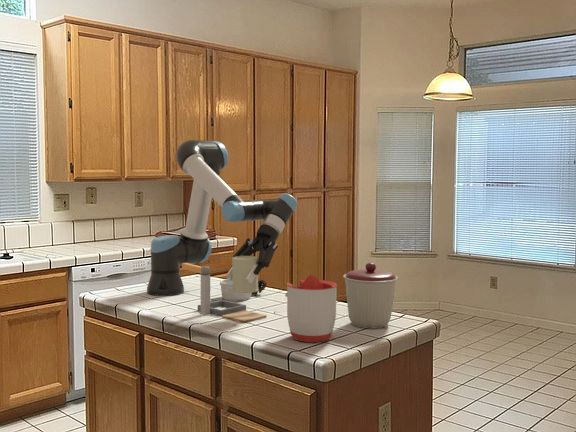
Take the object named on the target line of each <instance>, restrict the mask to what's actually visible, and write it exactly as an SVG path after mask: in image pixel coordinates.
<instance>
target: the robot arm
mask: <svg viewBox="0 0 576 432" xmlns="http://www.w3.org/2000/svg"><path fill="white" fill-rule="evenodd" d="M175 161H176V162H177V163H176V164H177V166H178V167H179V169H180V170H181V171H182V172H183V173H184V174H185V175H187V176H191V178H192V179H193V183H192V188H191V195H190V199H189V205H188V212H187V217H186V223H185V228H183V229H182V230H180V236H179V235H177V234H170V235H169V234H168V235H161V236H157V237H154V238H153V239H152V241H151V242H150V277H149V280H148V284H147V287H146V293H147V295H150V296H151V295H152V296H156V297H158V296H160V297H161V296H163V297H164V296H165V297H166V296H176V295H180V294H183V293H184V291H185V287H184V286H185V285H184V283H183V280H182V277H181V274H180V271H181V270H180V269H181V267H180V266H182V263H189V264H193V265H197V264H200V263H204V262H205V261H207V260H208V259H209V257H210V255H211V254H212V244H211V243H212V242H211V240H210V239H209V235H208V233H207V232H206V229H207V224H208V219H209V213H210V210H211V209H210V208H211V202H212V199H213V201H214V202H215V203H217V204H218V206H219V207H221V214H222V217H223V219H224V220H225V221H226V222H229V223H240V222H249V221H250V222H251V221H262V224H261V225H260V226H259V228H258V229H257V231H256V236H255V237H254V238H253V239H250V238H249V237H248V238H247V239H245V242H244V244H242V245H241V247H239V249H238V250H237V251H236V252H235V253H234V255H232V257H236V256H253V254H256V253H257V252H258V253H259V254H258V263H257V264H258V265H257V264H255V265H254V266H253V268H252V269H251V271H250V273H249V274H248V276H247V277H246V280H247V281H248V282H249V283H250V284H251V283H252V282H253V280H254V279H255V277H256V275H258V276H259V274H260V272H261V271H262V269H264V268H269V267H270V264H271V261H272V259H273V256H274V255H275V252H276V250H277V249H278V247H279V246H278V244H277V242H276V241H277V240H278V238H279V236H280V235H281V233H282V232H283V230H284V228H285V227H286V226H287V223H288V222H289V221H290V219H291V217H292V216H293V214H294V213H295V211H296V209H297V207H298V200H297V199H296V198H295V197H294V196H293V195H292V194H289V193H282V194H281V195H279V197H278V198H277V199H253V200H244V199H242V198H241V197H240V196H239V195H238V194H237V193H236V192H235V191H234V190H233V189H232V188H231V187H230V186H229V185H228V184H227V183H226V182H225V181H224V180H223V179H222V178H221V177H220V173H221V171H222V170H223V169H225V167H226V166H227V165H228V162H229V153H228V150H227V148H226V146H225V144H224V143H222V142H221V141H215V140H205V139H203V140H202V139H200V140H199V139H187V140H186V141H183V142H182V143H180V144H179V146H178V147H177V149H176V152H175ZM225 276H226V277H227V279H230V280H232V265H231V266H230V268H229V270H228V272H227V274H226V275H225Z"/></svg>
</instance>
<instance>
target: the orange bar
mask: <svg viewBox="0 0 576 432" xmlns="http://www.w3.org/2000/svg"><path fill="white" fill-rule="evenodd" d="M210 267H211V266H208V265H206V266H201V265H197V264H189V263H182V265H181V269H182V270H186V271H190V272H193V273H197V274H200V275H208V274H209V275H211V274H210V273H211V270H210V269H211V268H210Z"/></svg>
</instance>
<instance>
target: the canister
mask: <svg viewBox="0 0 576 432" xmlns="http://www.w3.org/2000/svg"><path fill="white" fill-rule="evenodd" d="M376 268H377V265H376V263H373V262H367V263H366V264H365V269H355V270H354V269H353V270H350V271H347V273H345V274H343V276H342V277H343V278H344V281H345V282H344V283H345V293H346V301H347V303H346V304H347V313H348V318H349V320H350V323H351V324H352V325H354V326H356V327H358V328H364V329H380V328H384V327H386V326H388V325H389V323H390V321H391V319H392V318H391V317H392V311H393V305H394V298H395V291H396V283H397V281H398V279H399V277H398V276H397V275H395V274H394V273H393V272H390V271H387V270H381V269H376Z"/></svg>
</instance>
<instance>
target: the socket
mask: <svg viewBox="0 0 576 432" xmlns="http://www.w3.org/2000/svg"><path fill="white" fill-rule="evenodd" d="M219 307H226V308H222V309H220V308H219ZM243 310H245V311H247V304H244V303H238V302H236V301H230V300H225V299H222V300H221V299H220V300H215V301H211V274H208V275H202V274H200V304H198V305H197V311H199V312H200V315H202V316H208V315H214V316H219V317H222V315H226V314H230V313H235V312H239V311H243Z"/></svg>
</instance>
